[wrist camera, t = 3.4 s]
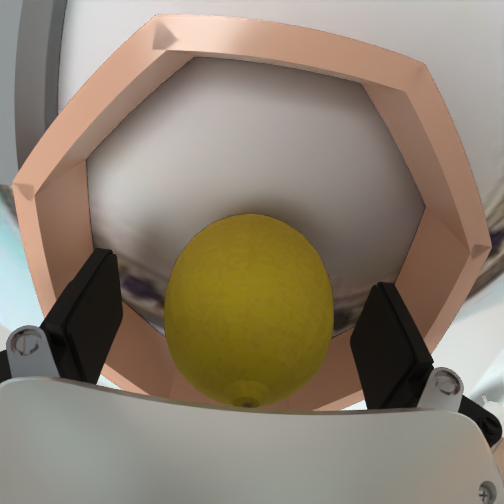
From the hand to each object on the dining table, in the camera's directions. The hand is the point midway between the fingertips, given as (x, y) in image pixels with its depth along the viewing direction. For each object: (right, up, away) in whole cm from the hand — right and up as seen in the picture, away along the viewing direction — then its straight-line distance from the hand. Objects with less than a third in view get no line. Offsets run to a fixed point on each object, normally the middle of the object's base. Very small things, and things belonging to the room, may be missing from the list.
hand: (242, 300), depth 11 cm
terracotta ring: (0, +2, +3) cm, 4 cm away
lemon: (0, +2, +3) cm, 4 cm away
